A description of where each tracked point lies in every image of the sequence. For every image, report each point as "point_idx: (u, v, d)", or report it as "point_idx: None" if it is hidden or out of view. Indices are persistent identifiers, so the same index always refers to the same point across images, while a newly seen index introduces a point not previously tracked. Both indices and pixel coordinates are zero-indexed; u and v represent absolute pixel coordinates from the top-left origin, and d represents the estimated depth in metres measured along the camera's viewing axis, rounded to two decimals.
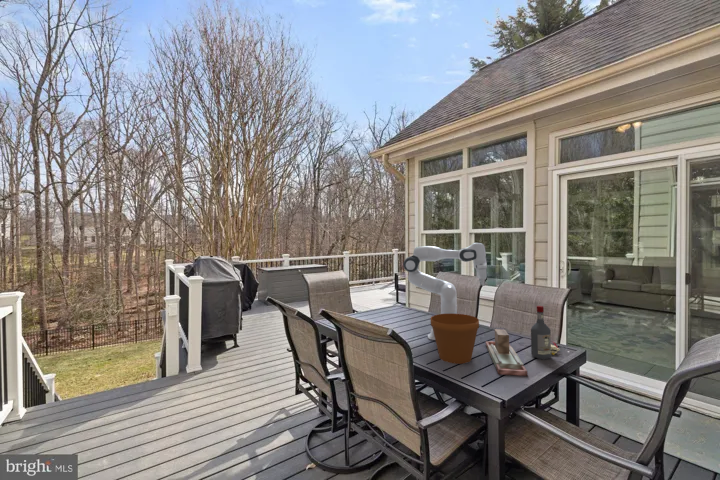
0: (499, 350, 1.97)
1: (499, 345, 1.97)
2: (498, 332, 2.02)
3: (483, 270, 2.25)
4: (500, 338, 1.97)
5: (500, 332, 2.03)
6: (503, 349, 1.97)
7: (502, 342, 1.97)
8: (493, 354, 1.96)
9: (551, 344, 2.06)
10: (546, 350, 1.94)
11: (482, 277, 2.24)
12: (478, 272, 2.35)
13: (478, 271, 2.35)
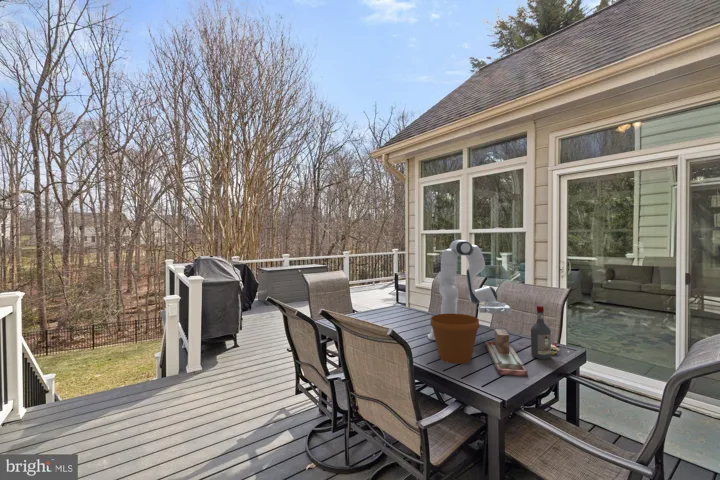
0: (499, 350, 1.97)
1: (499, 345, 1.97)
2: (498, 332, 2.02)
3: None
4: (500, 338, 1.97)
5: (500, 332, 2.03)
6: (503, 349, 1.97)
7: (502, 342, 1.97)
8: (493, 354, 1.96)
9: (551, 344, 2.07)
10: (546, 350, 1.94)
11: None
12: (492, 306, 2.29)
13: (492, 306, 2.30)
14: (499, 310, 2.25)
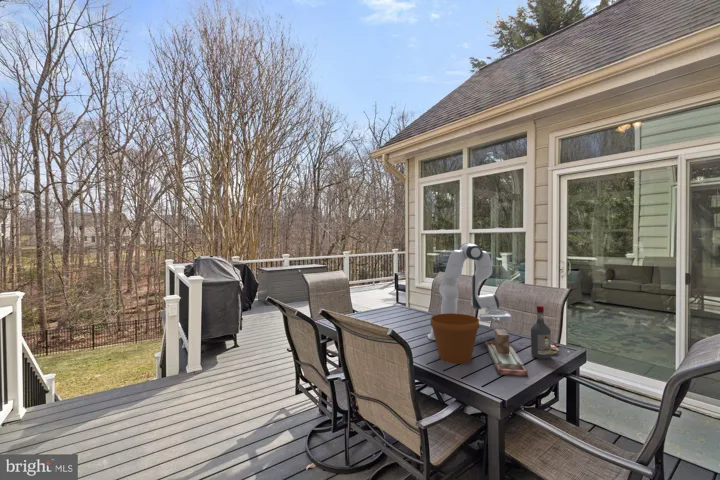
0: (499, 350, 1.97)
1: (499, 345, 1.97)
2: (498, 332, 2.02)
3: None
4: (500, 338, 1.97)
5: (500, 332, 2.03)
6: (503, 349, 1.97)
7: (502, 342, 1.97)
8: (493, 354, 1.96)
9: None
10: (546, 350, 1.94)
11: None
12: (492, 315, 2.29)
13: (493, 314, 2.30)
14: (500, 318, 2.25)
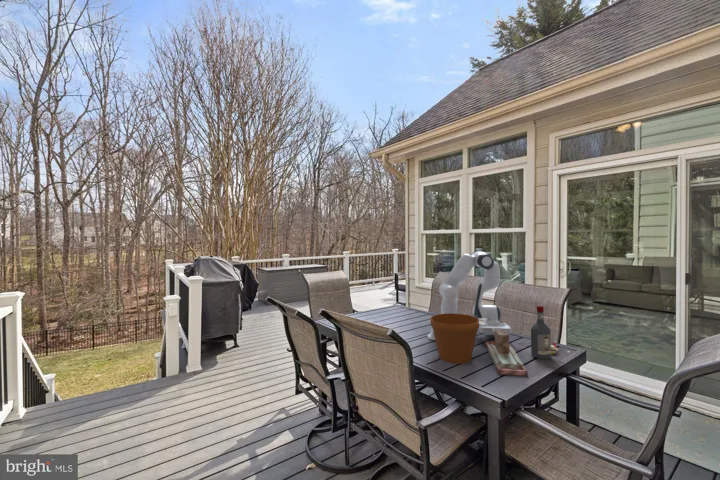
0: (499, 350, 1.97)
1: (499, 345, 1.97)
2: (498, 332, 2.02)
3: None
4: (500, 338, 1.97)
5: (500, 332, 2.03)
6: (503, 349, 1.97)
7: (502, 342, 1.97)
8: (493, 354, 1.96)
9: None
10: (546, 350, 1.94)
11: None
12: (492, 326, 2.29)
13: None
14: None
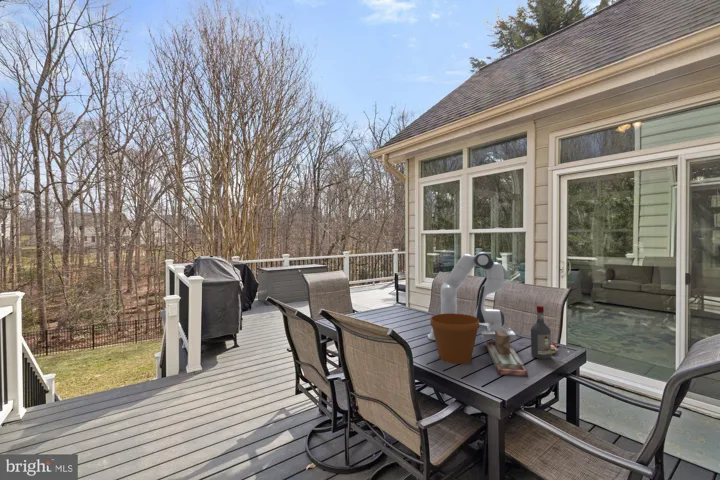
0: (500, 351, 1.96)
1: (500, 346, 1.96)
2: (499, 333, 2.01)
3: None
4: (501, 339, 1.96)
5: (501, 332, 2.01)
6: (504, 350, 1.95)
7: (503, 343, 1.95)
8: (493, 354, 1.96)
9: None
10: (546, 350, 1.94)
11: None
12: None
13: None
14: None
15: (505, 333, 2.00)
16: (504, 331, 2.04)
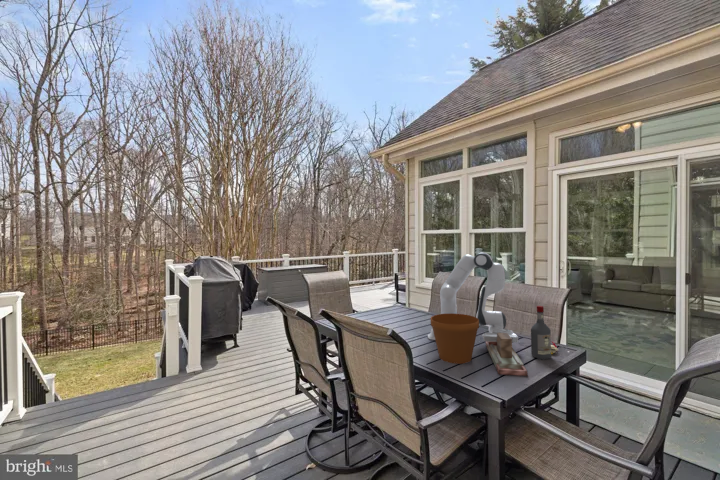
0: (502, 354, 1.90)
1: (502, 349, 1.90)
2: (500, 336, 1.95)
3: None
4: (503, 342, 1.90)
5: (503, 335, 1.96)
6: (506, 353, 1.90)
7: (505, 346, 1.90)
8: (493, 354, 1.96)
9: None
10: (546, 350, 1.94)
11: None
12: None
13: None
14: None
15: (507, 336, 1.94)
16: (506, 334, 1.98)
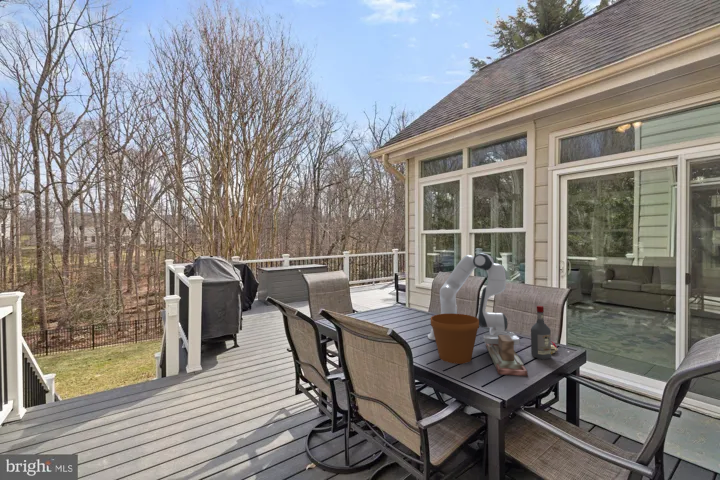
0: (503, 357, 1.86)
1: (503, 352, 1.86)
2: (502, 338, 1.91)
3: None
4: (504, 344, 1.86)
5: (504, 337, 1.91)
6: (507, 356, 1.85)
7: (506, 349, 1.85)
8: (493, 354, 1.96)
9: None
10: (546, 350, 1.94)
11: None
12: None
13: None
14: None
15: (509, 338, 1.90)
16: (508, 336, 1.94)
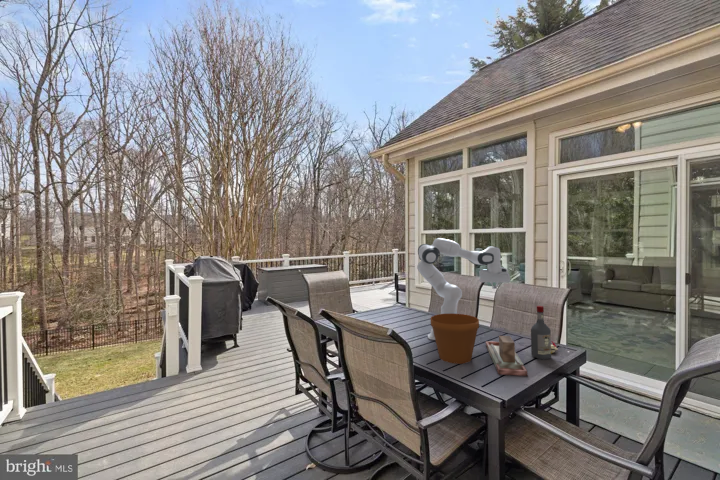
0: (504, 358, 1.84)
1: (504, 353, 1.84)
2: (503, 339, 1.89)
3: None
4: (505, 346, 1.84)
5: (505, 338, 1.89)
6: (508, 357, 1.83)
7: (507, 350, 1.83)
8: (493, 354, 1.96)
9: None
10: (546, 350, 1.94)
11: (509, 280, 2.33)
12: (493, 276, 2.35)
13: (493, 275, 2.35)
14: None
15: (510, 339, 1.88)
16: (508, 337, 1.92)
